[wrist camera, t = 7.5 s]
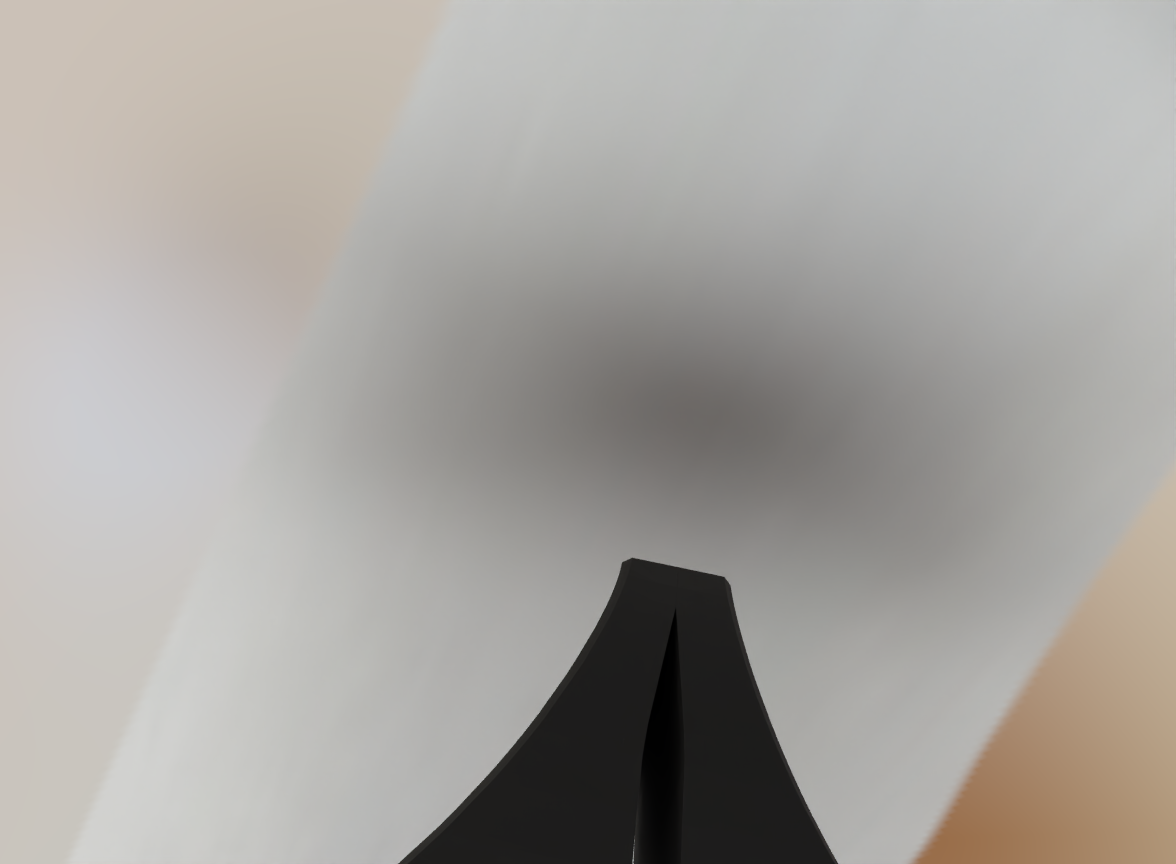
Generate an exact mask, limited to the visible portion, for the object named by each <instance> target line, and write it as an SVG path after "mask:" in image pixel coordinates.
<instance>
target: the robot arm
mask: <svg viewBox="0 0 1176 864" xmlns="http://www.w3.org/2000/svg"><path fill="white" fill-rule="evenodd" d="M634 838H635V843H634ZM633 849H634V864H838V863H837V861H836V859H835V857H834V856H833V854H832V852H831V850H830V849H829V847H828V845H827V843H826V841H825V839H824V837H823V835H822V833H821V831H820V829H819V828H818V826H817V824H816V822H815V820H814V818H813V816H812V814H811V812H810V810H809V808H808V806H807V804H806V802H805V800H804V798H803V796H802V794H801V792H800V789H799V787H798V785H797V783H796V781H795V779H794V776H793V774H792V772H791V770H790V767H789V765H788V763H787V760H786V758H785V756H784V754H783V751H782V749H781V747H780V744H779V742H778V739H777V737H776V734H775V732H774V729H773V727H772V724H771V722H770V719H769V717H768V714H767V711H766V708H765V706H764V703H763V700H762V697H761V695H760V692H759V689H758V686H757V684H756V681H755V678H754V675H753V672H752V669H751V666H750V663H749V659H748V656H747V653H746V649H745V646H744V642H743V639H742V636H741V632H740V628H739V624H738V620H737V616H736V612H735V607H734V603H733V598H732V592H731V586H730V584H729V583H728V581H727V580H726V579H725V577H722V576H717V575H712V574H708V573H703V572H698V571H693V570H688V569H684V568H679V567H674V566H669V565H664V564H660V563H655V562H650V561H645V560H640V559H636V558H631V559H629V560H627V561H624V562H622V565H621V570H620V574H619V577H618V580H617V582H616V585H615V588H614V590H613V593H612V595H611V597H610V600H609V602H608V604H607V606H606V608H605V610H604V612H603V614H602V616H601V618H600V620H599V621H598V623H597V625H596V627H595V629H594V631H593V632H592V634H591V636H590V637H589V639H588V641H587V642H586V644H585V646H584V647H583V649H582V651H581V652H580V654H579V656H578V657H577V659H576V661H575V662H574V664H573V665H572V667H571V669H570V670H569V672H568V673H567V675H566V676H565V677H564V679H563V680H562V682H561V683H560V685H559V686H558V687H557V689H556V690H555V692H554V693H553V694H552V696H551V697H550V699H549V700H548V701H547V703H546V704H545V706H544V707H543V708H542V710H541V711H540V713H539V714H538V715H537V717H536V718H535V719H534V721H533V722H532V723H531V724H530V726H529V727H528V728H527V729H526V731H525V732H524V733H523V735H522V736H521V737H520V738H519V740H518V741H517V742H516V743H515V744H514V746H513V747H512V748H511V749H510V750H509V752H508V753H507V754H506V755H505V756H504V757H503V759H502V760H501V761H500V762H499V763H498V764H497V766H496V767H495V768H494V769H493V770H492V771H491V772H490V774H489V775H488V776H487V777H486V778H485V779H484V780H483V781H482V782H481V783H480V784H479V785H478V786H477V788H476V789H475V790H474V791H473V792H472V793H471V794H470V795H469V796H468V797H467V798H466V799H465V800H464V801H463V803H462V804H461V805H460V806H459V807H458V808H457V809H456V810H455V811H454V812H453V813H452V814H451V815H450V816H449V817H448V818H447V819H446V820H445V821H444V822H443V823H442V824H441V825H440V826H439V827H438V828H437V829H436V830H435V831H433V832H432V833H431V834H430V835H429V836H428V837H427V838H426V839H425V840H424V841H423V842H421V843H420V844H419V845H418V846H417V847H416V848H415V849H414V850H413V851H412V852H411V853H409V854H408V855H407V856H406V857H405V858H404V859H403V860H402V861H401V862H400V863H399V864H632V860H633Z"/></svg>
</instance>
